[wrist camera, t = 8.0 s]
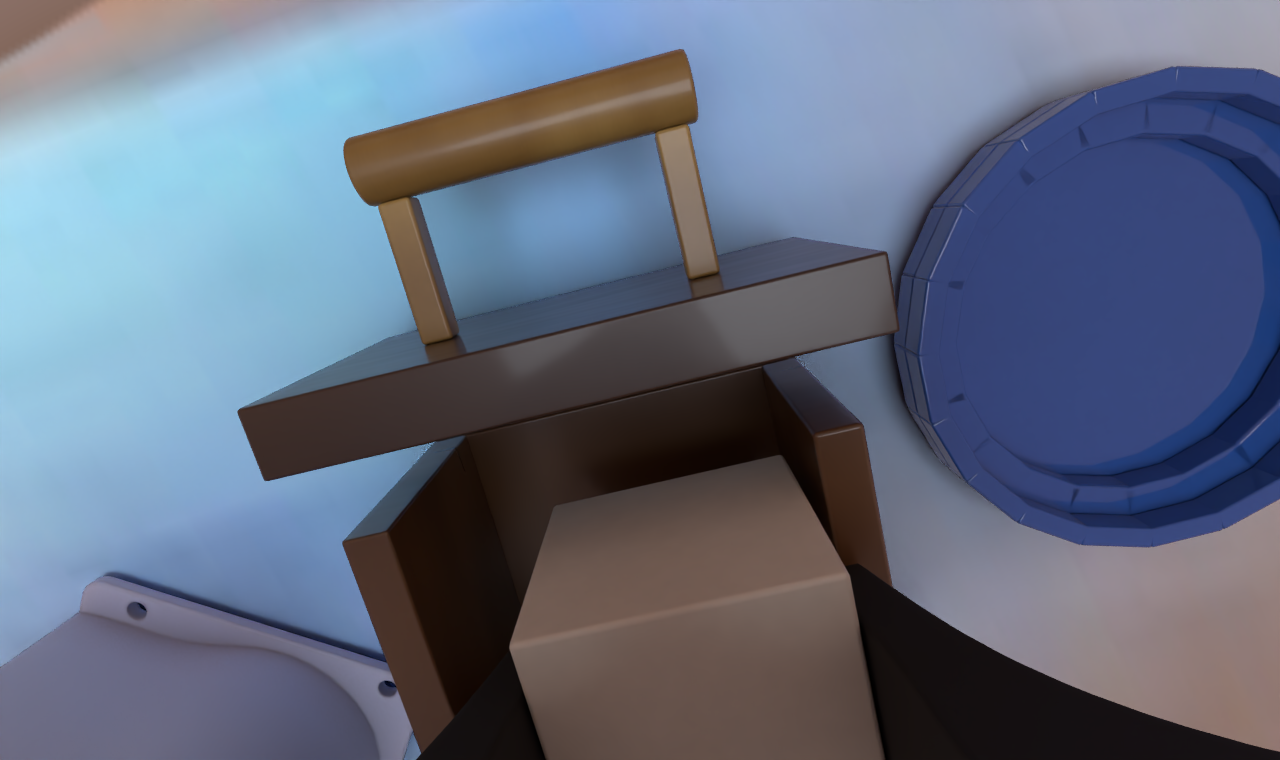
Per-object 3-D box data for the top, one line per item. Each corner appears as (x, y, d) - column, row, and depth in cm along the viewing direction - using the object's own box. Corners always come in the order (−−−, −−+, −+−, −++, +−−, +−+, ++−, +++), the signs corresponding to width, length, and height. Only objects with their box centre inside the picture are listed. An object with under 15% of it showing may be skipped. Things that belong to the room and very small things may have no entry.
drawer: (333, 177, 16) (132, 152, 10) (762, 63, 15) (841, -40, 9) (535, 780, 19) (484, 1040, 13) (885, 710, 19) (1000, 950, 13)
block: (825, 656, 14) (905, 857, 9) (610, 700, 14) (594, 914, 10) (782, 452, 13) (850, 573, 8) (552, 504, 13) (505, 647, 9)
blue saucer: (822, 435, 18) (844, 462, 16) (1009, 14, 16) (1061, -15, 14) (1183, 563, 19) (1246, 604, 17) (1415, 180, 16) (1519, 175, 14)
